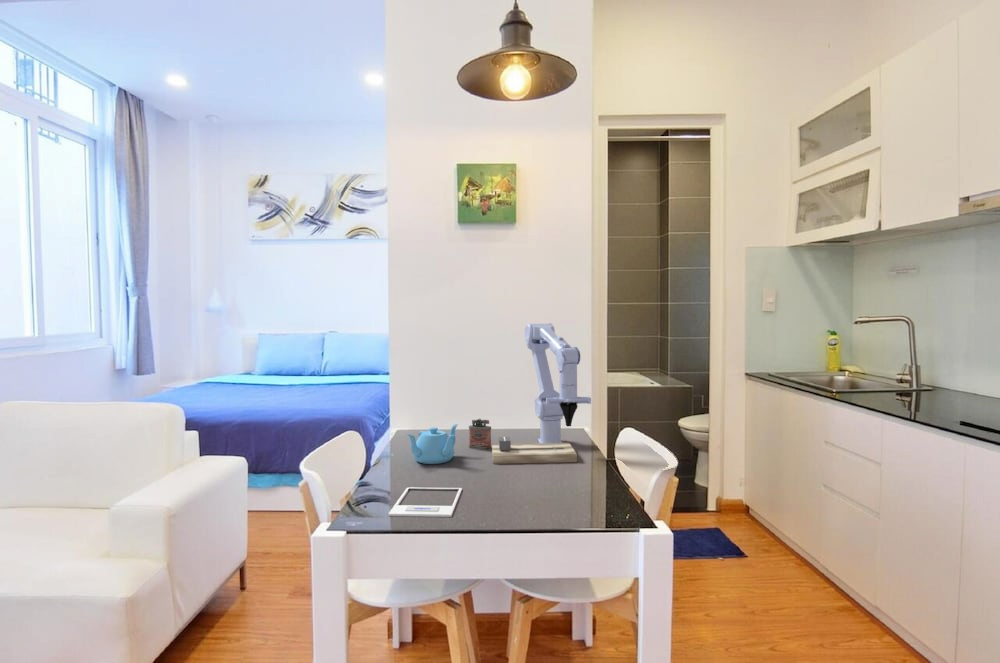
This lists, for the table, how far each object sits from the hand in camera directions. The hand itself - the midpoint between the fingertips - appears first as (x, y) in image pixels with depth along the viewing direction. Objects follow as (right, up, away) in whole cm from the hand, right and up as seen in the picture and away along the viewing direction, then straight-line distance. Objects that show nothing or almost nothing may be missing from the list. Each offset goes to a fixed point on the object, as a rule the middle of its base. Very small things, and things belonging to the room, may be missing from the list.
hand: (568, 425), depth 168 cm
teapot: (-43, -10, -5) cm, 44 cm away
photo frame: (-40, -12, -41) cm, 59 cm away
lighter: (-29, -10, +9) cm, 32 cm away
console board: (-12, -10, -2) cm, 15 cm away
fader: (-21, -7, -3) cm, 22 cm away
